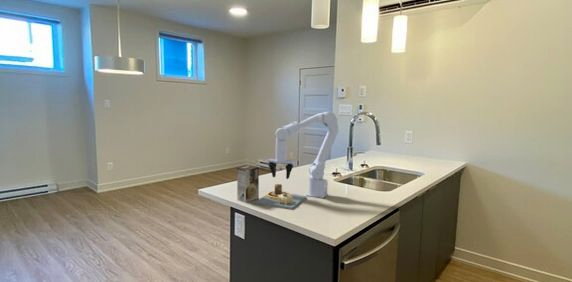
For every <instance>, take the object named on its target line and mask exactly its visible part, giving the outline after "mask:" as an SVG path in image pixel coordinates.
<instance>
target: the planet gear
mask: <svg viewBox="0 0 572 282" xmlns="http://www.w3.org/2000/svg"><path fill="white" fill-rule="evenodd" d="M273 191H274V192H272V193H270V196H273V197H277V195H281V194H283V193H286V192H287V191H285V192H282V191H283V185H282V184H278V183H277V184H274V190H273Z"/></svg>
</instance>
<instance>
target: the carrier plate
mask: <svg viewBox="0 0 572 282" xmlns="http://www.w3.org/2000/svg"><path fill="white" fill-rule="evenodd" d="M274 191H275V190H272V191H268V192H266V195H263V197H260V198H258V199H256V200H255V201H254V204H255V203H256V204H255V205H261V204H262V206H267V205H269V206H268V207H273V206H274V208H279V207H280V209H285V210H294V209H295V208H296V207H298V205H300V204H301V203H302V202H303V201H305V200H306V199H307V196H306V195H300V194H295V193H293V194H292V193H290V192H288V191H284V190H282V192H286V193H283V194H281V195H277V197H273V196H270V193H272V192H274Z"/></svg>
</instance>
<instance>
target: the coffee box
mask: <svg viewBox="0 0 572 282" xmlns="http://www.w3.org/2000/svg"><path fill="white" fill-rule="evenodd" d="M259 168H260V167H259V166H255V165H252V164H251V165H245V166H241V167H237V168H236V171H237V173H236V176H237V177H236V179H237V181H236V182H237V190H236V191H237V192H236V194H237V195H236V196H237V201H241V202H243V203H248V201H249V202H251V200H252V201H254V199H255V200H258V199H260V198H259V197H260V196H259V194H260V193H259V191H260V187H259V185H260V184H259V183H260V182H259V180H260V178H259V176H260V173H259Z"/></svg>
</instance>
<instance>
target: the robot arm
mask: <svg viewBox="0 0 572 282" xmlns="http://www.w3.org/2000/svg"><path fill="white" fill-rule="evenodd" d="M316 123H319V124H323V125H324V126H325V128H326V130H327V132H326V134H325V137H324V140H323V142H322V144H321V146H320V149H319V151H318V153H317V156H316V158H315V159H314V160H313V163H312V164H311V165H310V166H309V167H308V172H309V174H310V175H309V177H308V193H306V194H305V196H306V197H312V198H313V197H315V198H322V199H324V198H325V197H326V196H327V195H328V184H329V183H328V180H327V179H326V178H324V174H325V172H324V171H325V169H326V162H327V160H328V157H329V155H330V153H331V150H332V147H333V146H334V143H335V141H336V138H337V135H338V134H339V125H338V124H339V123H338V117H337V115H336V114H335V113H334V112H332V111H327V110H326V111H323V112H320V113H317V114H314V115H312V116H310V117H308V118H305V119H304V120H301V121H300V122H298V121H294V120H293V121H291V123H289V124H287V125H283V126H282V127H280V128H277V129H276V131H275V134H274V135H275V158H268V159H267V164H268V167H269V169H270V171H271V176H272V178H275V177H276V174H277V173H276V171H277V169H276V168H277V165H285V171H286V173H285V176H286V178H285V179H286V180H288V179H290V174H291V172H292V170H293V167H294V166H295V165H296V161H295V160H291V159H288V158H287V157H288V156H287V155H288V142H287V139H288V137H292V136H294V135H296V134H299V133H300V132H302V129H303V128H306V127H308V126H311V125H313V124H316Z"/></svg>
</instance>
